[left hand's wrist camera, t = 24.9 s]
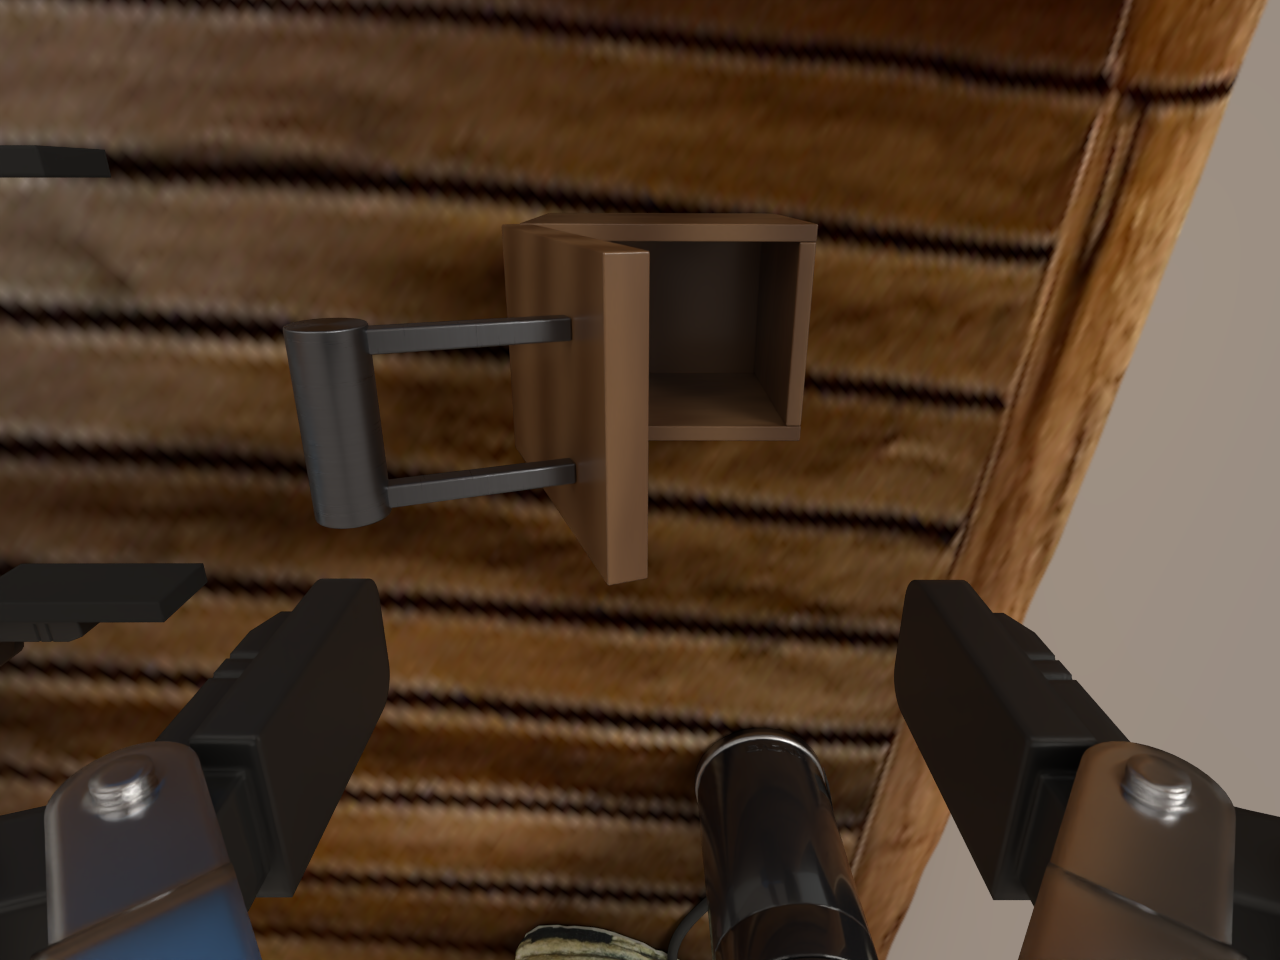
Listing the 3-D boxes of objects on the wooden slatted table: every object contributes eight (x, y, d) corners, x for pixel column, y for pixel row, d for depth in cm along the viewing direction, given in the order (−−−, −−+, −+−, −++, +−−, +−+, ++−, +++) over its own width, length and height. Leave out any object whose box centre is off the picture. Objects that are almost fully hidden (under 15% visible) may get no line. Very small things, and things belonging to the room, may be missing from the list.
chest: (774, 213, 42) (818, 224, 31) (763, 382, 45) (799, 441, 35) (548, 212, 42) (519, 223, 31) (555, 381, 45) (530, 440, 35)
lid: (650, 250, 19) (256, 262, 16) (648, 579, 23) (324, 637, 20) (532, 224, 31) (290, 227, 28) (542, 443, 34) (328, 468, 31)
